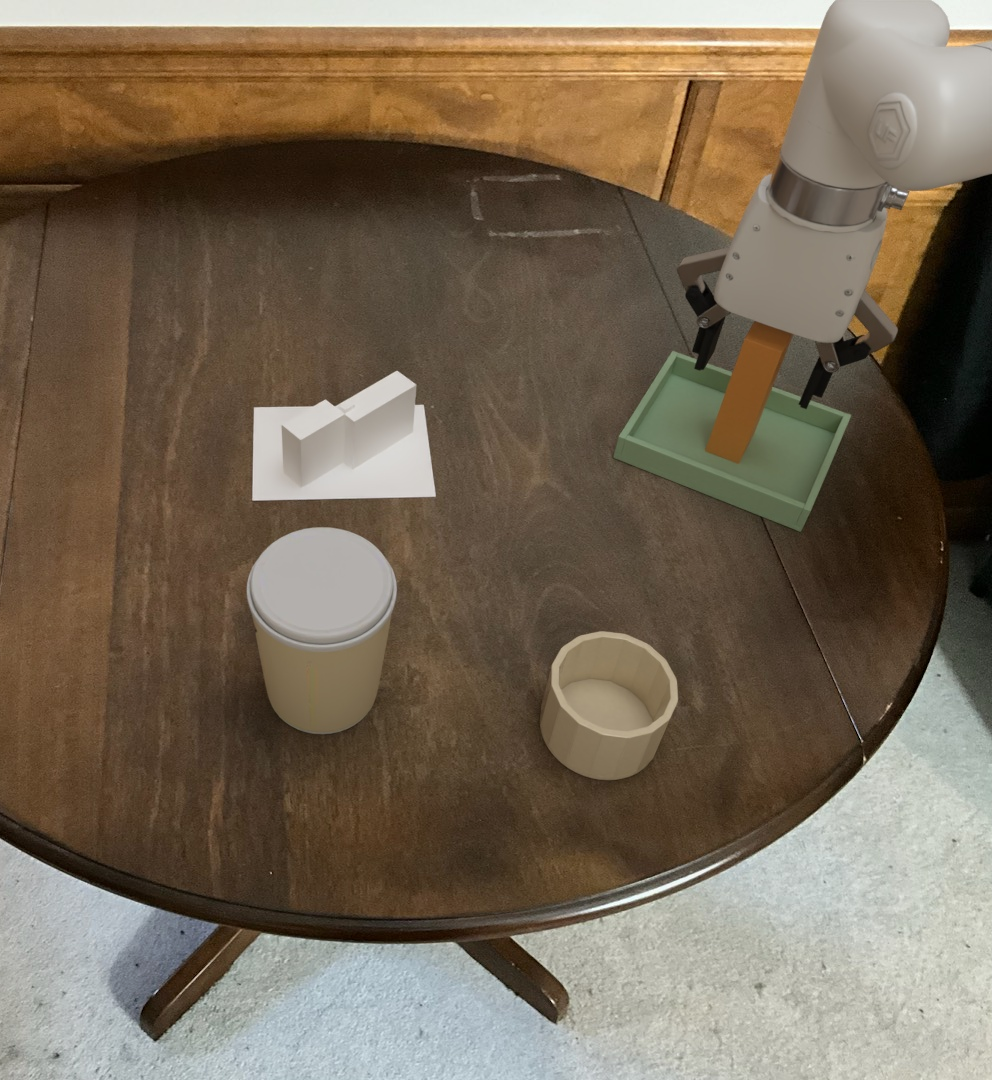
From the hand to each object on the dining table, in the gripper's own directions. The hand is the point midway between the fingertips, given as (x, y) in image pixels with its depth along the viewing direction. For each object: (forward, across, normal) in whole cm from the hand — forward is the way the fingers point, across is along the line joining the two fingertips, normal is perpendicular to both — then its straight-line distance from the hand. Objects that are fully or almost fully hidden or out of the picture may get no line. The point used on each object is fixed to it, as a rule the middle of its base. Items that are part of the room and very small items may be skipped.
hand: (754, 378), depth 90 cm
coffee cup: (+8, +17, +39) cm, 43 cm away
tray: (+8, 0, 0) cm, 8 cm away
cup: (+8, -1, +32) cm, 33 cm away
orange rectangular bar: (+7, 0, 0) cm, 7 cm away
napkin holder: (+8, +28, +18) cm, 34 cm away
